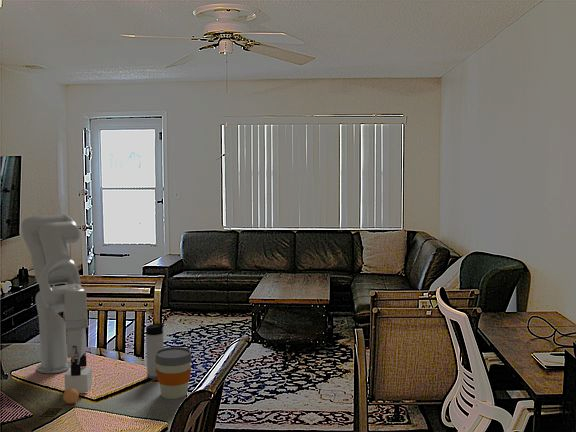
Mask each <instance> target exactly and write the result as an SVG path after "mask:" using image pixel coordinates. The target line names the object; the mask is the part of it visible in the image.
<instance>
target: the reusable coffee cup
mask: <svg viewBox="0 0 576 432" xmlns="http://www.w3.org/2000/svg"><path fill="white" fill-rule="evenodd" d="M192 360H193V358H192V351H191V349H189V348H186V347H183V346H172V347H171V346H169V347H164V348H163V349H160V350H158V351H157V352H156V358H155V362H156V364H157V368H156V372H157V378H158V379H157V381H158V383H159V388H160V389H159V390H160V395H161V398H164V399H168V400H169V399H171V400H176V399H181V398H183V397H186V396H187V395H188V389H189V382H190V380H191V373H192V366H191V364H192Z"/></svg>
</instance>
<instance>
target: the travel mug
mask: <svg viewBox="0 0 576 432" xmlns="http://www.w3.org/2000/svg"><path fill="white" fill-rule="evenodd" d="M164 327H165V324H164V323H153V324H149V325H148V326H146V327H145V328H146V330H145V332H146V333H145V335H146V336H145V339H146V342H145V343H146V377H147V376H148V377H147V378H149V379H152V380H158V378H157V372H156V368H157V364H156V362H155V358H156V352H157V351H158V350H160V349H163V348H165V346H164V343H165V342H164Z"/></svg>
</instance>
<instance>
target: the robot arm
mask: <svg viewBox="0 0 576 432" xmlns="http://www.w3.org/2000/svg"><path fill="white" fill-rule="evenodd" d="M80 231H81V230H80V228H79V226H78V224H77V222H76V221H75V220H74V219H72V217H71V216H69V215H68V214H66V213H57V214H56V213H55V214H52V213H51V214H39V215H32V216H31V215H30V216H27V217H25V218H24V219H23V220H22V222H21V234H22V238H23V240H24V242H25V244H26V247H27V248H28V250H29V253H30V255H31V256H30V257H31V262H32V268H33V272H34V277H35V281H36V282H37V284H38V287H39V291H38V292H37V293H36V294H35V305H36V310H37V317H38V323H39V326H38V327H39V343H40V345H39V347H40V364H39V365H37V367H36V370H37V372H38V373H41V374H46V375H47V374H58V373H59V374H60V373H63V372H67V371H68V369H69V368H71V376H80V375H81V368H80V367H87V355H86V354H87V353H86V352H87V333H86V330H87V328H89V324H88V323H89V322H88V321H89V320H88V305H87V303H88V302H87V301H88V300H87V291H86V289H85V288H83V287H82V282H81V277H80V273H79V267H78V265H77V263H76V261H75V260H73V259H71V255H70V252H69V248H68V245H67V244H75V243H78V242H79V240H80V237H81V232H80ZM61 284H64V285H61ZM54 285H55V286H54ZM63 312H64V318H63V317H62V316H61V315H60V314H59V313H63ZM68 359H70V361H69V360H68Z"/></svg>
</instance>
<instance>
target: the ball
mask: <svg viewBox="0 0 576 432" xmlns="http://www.w3.org/2000/svg"><path fill="white" fill-rule="evenodd" d="M62 395H63V396H62V398H63V401H64V402H65V404H68V405H71V404H74V403H76V402H78V400H79V398H80V396H79V395H80V394H79V393H78V391H77V390H76V389H73V388H70V389H68V390H66V391H65V390H64V392H63V394H62Z"/></svg>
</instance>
